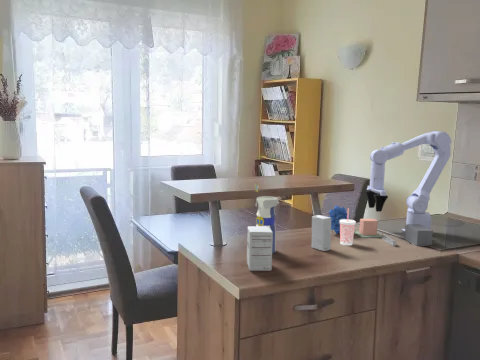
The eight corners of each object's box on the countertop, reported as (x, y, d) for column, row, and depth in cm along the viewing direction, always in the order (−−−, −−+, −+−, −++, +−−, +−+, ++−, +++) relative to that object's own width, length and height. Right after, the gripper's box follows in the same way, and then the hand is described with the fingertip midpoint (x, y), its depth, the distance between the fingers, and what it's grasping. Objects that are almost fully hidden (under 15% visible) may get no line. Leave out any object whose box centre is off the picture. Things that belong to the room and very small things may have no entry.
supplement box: (246, 263, 149) (247, 225, 147) (268, 263, 149) (269, 225, 148) (248, 271, 142) (249, 231, 140) (272, 270, 142) (273, 231, 140)
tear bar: (384, 239, 182) (384, 234, 182) (395, 246, 173) (395, 241, 172) (381, 239, 182) (382, 234, 182) (393, 246, 172) (393, 241, 172)
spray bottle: (267, 256, 157) (269, 184, 153) (248, 250, 163) (250, 181, 159) (281, 251, 163) (284, 182, 159) (263, 246, 169) (265, 179, 165)
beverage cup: (334, 242, 176) (336, 207, 174) (346, 240, 179) (348, 206, 177) (345, 246, 170) (347, 210, 168) (357, 244, 173) (360, 209, 171)
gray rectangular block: (418, 238, 184) (419, 224, 183) (431, 245, 174) (432, 230, 173) (404, 238, 183) (405, 224, 183) (416, 245, 174) (417, 230, 173)
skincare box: (331, 249, 166) (332, 217, 165) (323, 251, 163) (324, 219, 162) (318, 245, 171) (319, 214, 169) (310, 247, 168) (311, 215, 166)
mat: (373, 231, 194) (374, 231, 194) (382, 237, 185) (382, 236, 185) (353, 231, 193) (353, 231, 193) (361, 237, 184) (361, 236, 184)
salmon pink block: (372, 232, 191) (373, 218, 190) (376, 235, 187) (377, 220, 186) (359, 232, 190) (359, 218, 190) (362, 235, 186) (363, 221, 186)
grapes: (333, 237, 183) (334, 208, 181) (323, 233, 189) (324, 205, 187) (355, 234, 188) (357, 206, 186) (345, 231, 194) (346, 203, 192)
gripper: (361, 175, 199) (359, 206, 201) (375, 180, 184) (372, 213, 186) (377, 175, 200) (375, 206, 201) (391, 180, 185) (389, 213, 187)
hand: (375, 209), depth 194 cm, fingers open, 7 cm apart
